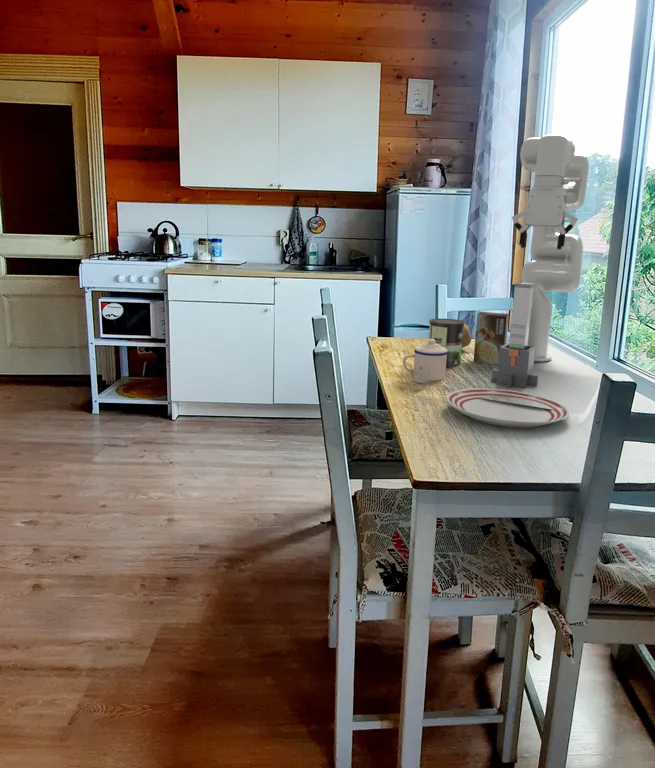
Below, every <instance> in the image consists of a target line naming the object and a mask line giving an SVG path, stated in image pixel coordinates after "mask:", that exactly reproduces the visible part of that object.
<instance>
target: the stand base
mask: <svg viewBox="0 0 655 768" xmlns="http://www.w3.org/2000/svg"><path fill="white" fill-rule="evenodd" d="M534 355H535V346H527V350H520V349H512V348H509V342H506V344H505V345H503V346H502V347H500V353H499V363H498V365H497V369H492V371H491V381H495V382H496V385H501V386H506V388H507V389H512V388H513V387H514V388H515V387H516V388H519V389H527V388H528V386H529V387H537V388H538V383H539V375H537V374H533V372H534V363H535V361H534Z"/></svg>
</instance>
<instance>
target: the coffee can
mask: <svg viewBox="0 0 655 768" xmlns="http://www.w3.org/2000/svg"><path fill="white" fill-rule="evenodd" d="M464 323H465V321H464V320H460V319H455V318H432V319H429V327H428V329H429V331H428V340H429V339H434V340H435V343H436V344H439V345H440V346H441V347H444V348H446V349H447V351H448V354H447V359H446V371H448V370H450V369H451V368H453V367H457V366H460V365H461V364H462V363H461V362H462V350H463V348H462V341H463V328H464Z"/></svg>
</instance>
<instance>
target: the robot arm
mask: <svg viewBox="0 0 655 768" xmlns="http://www.w3.org/2000/svg"><path fill="white" fill-rule="evenodd" d="M519 155H520V162H521V163H520V164H521V166H522V168H523V169H524V170H525V171H527V172H528V171H529V172H532V173H534V180H533V186H531V188H530V189H529V191H528V193H529V194H528V197H527V202H526V208H525V210H523V211H521V212H519V213H517V214H514V215H513V216H512V217H511V219H512V221H513V224H514V226H515V228H516V229H517V230H518V232H519V233H520V236H519V245H520V248H521V249H524V248H526V247H527V241H528V240H527V239H528V233H527V231H528V229H530V227H532V235H531V242H530V252H529V253H530V258H531V260H530V261H527V262H526V263H525V264H524V265H523V267H522V272H521V282H523V283H534V291H533V299H532V308H531V317H530V326H529V335H528V344H527V346H535V355H534V363H536V362H537V363H538V362H540V363H542V362H549V361H552V355H551V354H549V353H548V346H549V340H550V339H549V338H550V331H551V321H552V313H553V303H552V301H551V299H550V297H549V296H548V295H547V293H546V292H557V293H572V292H575V291H576V290H577V289H578V287H579V285H580V281H581V274H582V263H583V262H582V261H583V253H584V252H583V249H584V247H583V245H584V244H583V241H582V238H581V237H580V236H578V235H576V234H568V233H569V232H570V231H572V229H574V227H575V226H576V223H577V222H578V221H579V218H578V217H577V216H575V215H573V214H571V213H570V212H567V211H568V210H570V211H574V210H579V209H581V208H582V207H583V205H584V203H585V200H586V193H587V186H588V185H587V184H588V178H589V168H590V166H589V159H588V157H587V155H586V154H585V153H583V152H576V147H575V144H574V143H573V140H572V139H570V138H569V137H567V136H566V135H563V134H553V133H552V134H545V135H542V136H540V137H529V138H527V139H525V140H524V142H522V144H521V148H520V154H519ZM523 217H524V224H523V225H522V224H521V223H520V220H519V219H521V218H523ZM566 219H568V220H570V222H569V224H568V225H567V226H566V227H565V226H564V224H565V221H566Z"/></svg>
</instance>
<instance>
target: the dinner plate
mask: <svg viewBox="0 0 655 768" xmlns="http://www.w3.org/2000/svg"><path fill="white" fill-rule="evenodd" d="M482 397H504V398H506V397H507V398H515V399H523V400H526V401H527V400H528V401H531V402H536V403H540V404H542V405H545V406H547V407H549V408H546V407H539V406H533V405H527V404H520V403H513V402H508V401H501V400H494V399H489V398H482ZM445 399H446V402H447V403H448V404H449V405H450V406H451V407H452V408H454V409H455V410H457V411H458V412H460V413H462V414H463V415H466V416H468V417H470V418H472V419H474V420H476V421H480V422H483V423H486V424H489V425H494V426H500V427H509V428H510V427H511V428H533V427H532V426H534V427H538V425H539V426H544V425H549V424H553V423H556V422H560V421H562V420H566V419H567V418H568V417H569V416H570V410H569V408H568V407H566V406H565V405H564V404H562V403H560V402H558V401H555V400H554V399H551V398H547V397H544V396H541V395H537V394H532V393H528V392H523V391H516V390H509V389H505V388H504V389H503V388H485V387H484V388H479V387H477V388H475V387H474V388H466V389H465V388H464V389H458V390H455V391H452V392H450V393H448V394H447V395H446V398H445Z"/></svg>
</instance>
